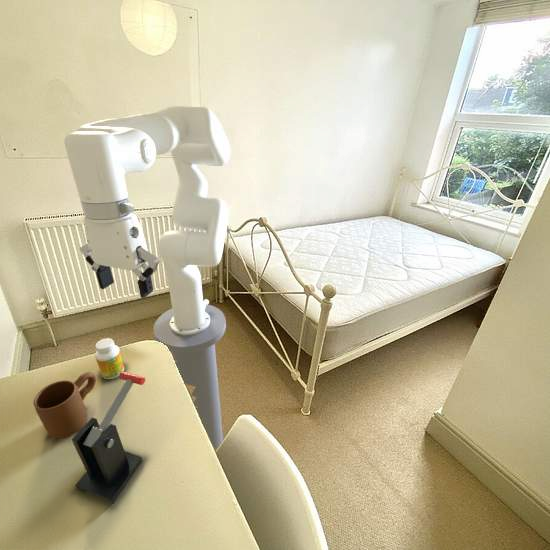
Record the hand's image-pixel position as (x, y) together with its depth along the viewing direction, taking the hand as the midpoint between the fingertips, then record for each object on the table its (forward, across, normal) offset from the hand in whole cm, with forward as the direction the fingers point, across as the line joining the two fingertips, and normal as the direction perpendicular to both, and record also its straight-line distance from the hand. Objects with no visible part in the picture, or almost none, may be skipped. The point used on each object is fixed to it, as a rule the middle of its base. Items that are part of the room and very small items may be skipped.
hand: (127, 290), depth 63 cm
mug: (+28, +10, +12) cm, 32 cm away
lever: (+16, -6, +15) cm, 23 cm away
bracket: (+28, -6, +20) cm, 35 cm away
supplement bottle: (+28, +12, -1) cm, 31 cm away
